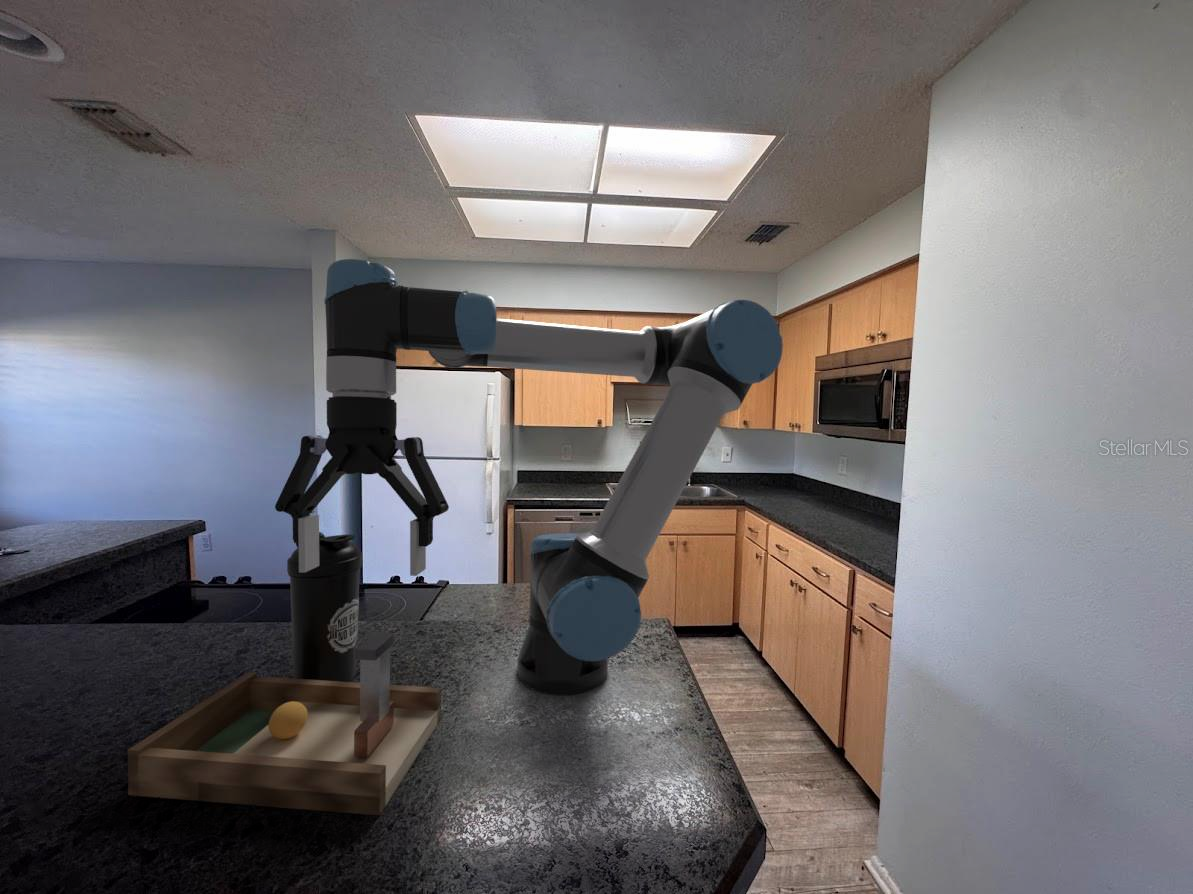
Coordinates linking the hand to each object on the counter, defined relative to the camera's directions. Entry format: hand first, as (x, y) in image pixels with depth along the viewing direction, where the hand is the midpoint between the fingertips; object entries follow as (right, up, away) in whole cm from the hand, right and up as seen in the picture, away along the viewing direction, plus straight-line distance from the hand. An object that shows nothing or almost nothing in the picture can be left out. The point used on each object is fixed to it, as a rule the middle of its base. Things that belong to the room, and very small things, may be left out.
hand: (363, 571), depth 57 cm
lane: (-8, -23, 0) cm, 24 cm away
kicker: (+2, -21, 0) cm, 21 cm away
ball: (-9, -19, 0) cm, 21 cm away
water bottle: (-15, -22, +17) cm, 31 cm away
